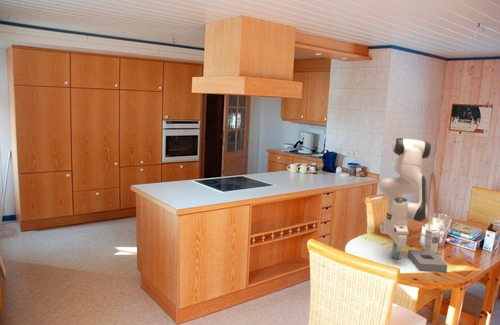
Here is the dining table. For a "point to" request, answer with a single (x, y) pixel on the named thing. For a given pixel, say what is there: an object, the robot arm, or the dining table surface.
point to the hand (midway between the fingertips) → (396, 249)
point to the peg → (395, 252)
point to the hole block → (427, 261)
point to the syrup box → (432, 240)
